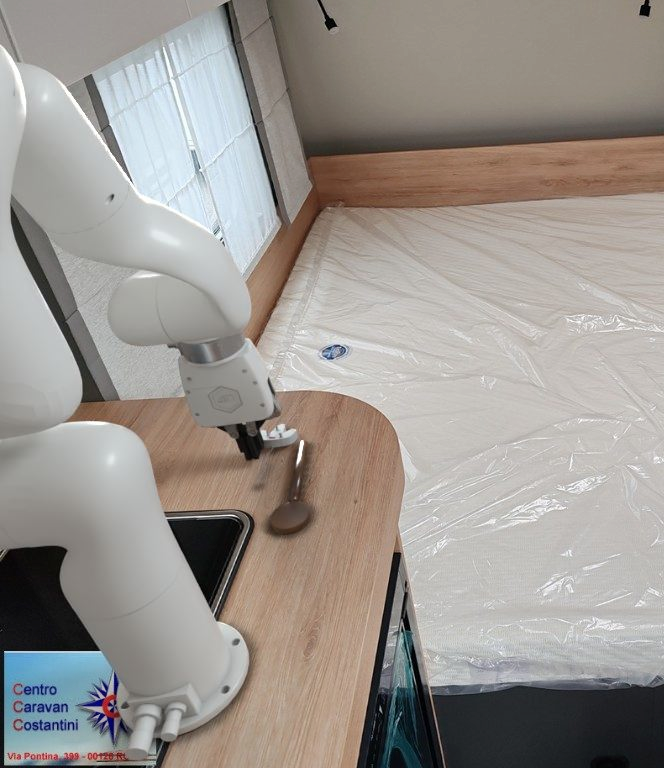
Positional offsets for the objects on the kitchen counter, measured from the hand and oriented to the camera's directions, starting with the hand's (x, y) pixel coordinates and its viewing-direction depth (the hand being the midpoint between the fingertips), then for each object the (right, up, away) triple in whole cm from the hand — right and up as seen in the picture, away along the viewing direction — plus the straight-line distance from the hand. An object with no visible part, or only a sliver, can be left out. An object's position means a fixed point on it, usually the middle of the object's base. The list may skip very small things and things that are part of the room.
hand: (254, 453), depth 104 cm
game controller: (+2, -1, +1) cm, 2 cm away
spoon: (+7, -4, -5) cm, 10 cm away
